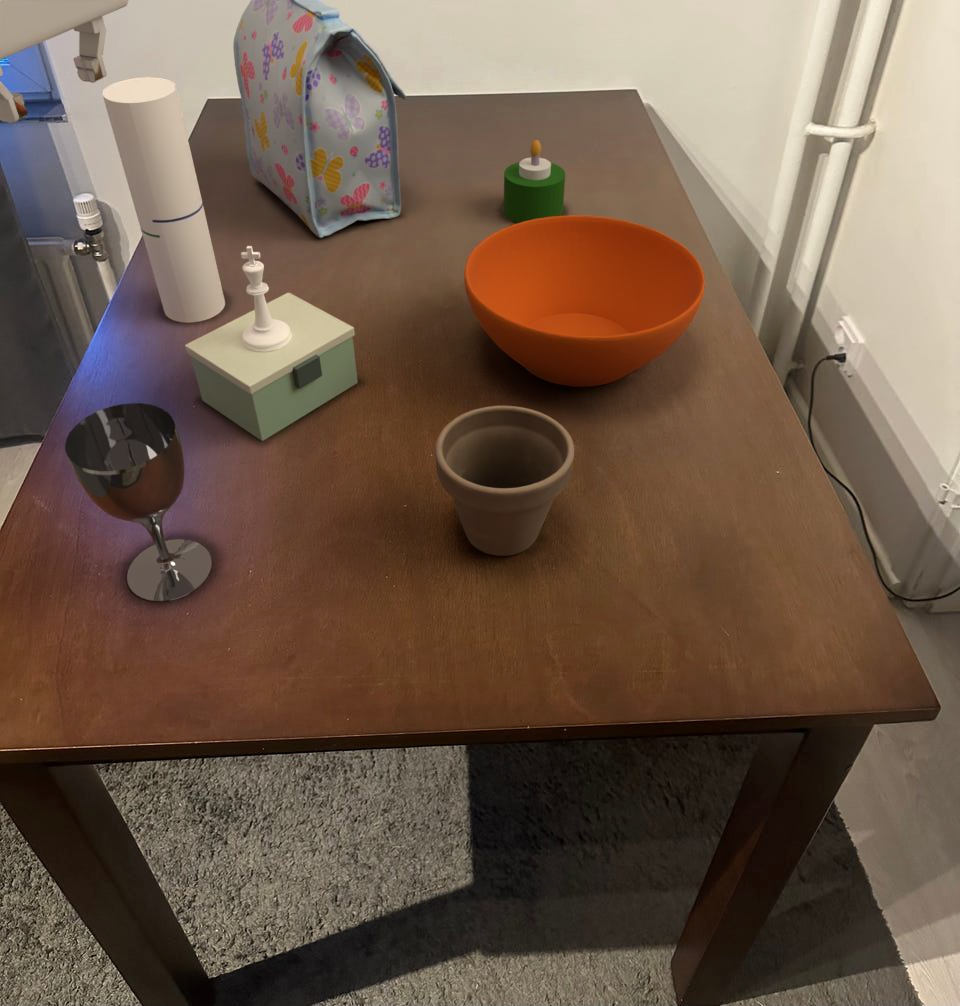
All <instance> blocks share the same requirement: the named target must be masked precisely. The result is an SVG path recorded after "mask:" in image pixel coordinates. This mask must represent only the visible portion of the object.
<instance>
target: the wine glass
mask: <svg viewBox="0 0 960 1006" xmlns="http://www.w3.org/2000/svg"><path fill="white" fill-rule="evenodd" d="M64 451H65V453H66V457H67V459H68V461H69V464H70V467H71V469H72V471H73V473H74V474H75V477H76V479H77V481H78V483H79V484H80V486H81V487H82V488H83V491H85V493H86V495H87V496H88V497H89V498H90V499H91V501H92V502H93V503H94V504H95V505H96V506H97V507H98V508H99V509H100V510H101V511H103V512H104V513H105V514H106V515H108V516H110V517H112V518H115V519H118V520H121V521H125V522H131V523H136V524H139V525H140V526H142V527H143V528H144V529H145V530H146V531H147V533H148V534H149V536H150V538H151V539H152V541H153V543H154V544H153V545H151V546H149V547H147V548H146V549H145V550H142V551H141V552H140V553H139V554H138V555H137V556H136V557H135V558H134V559H133V560H132V562H131V564H130V565H129V567H128V570H127V575H126V583H127V585H128V588H129V590H130V591H131V592H132V593H133V594H134V595H135V596H137V597H138V598H140V599H142V600H145V601H148V602H154V603H157V602H159V603H160V602H161V603H164V602H171V601H176V600H178V599H181V598H183V597H186V596H188V595H190V594H191V593H194V592H195V591H196V590H197V589H199V588H200V587H201V586H202V585H203V584H204V583H205V582H206V581H207V579H208V578H209V576H210V574H211V572H212V568H213V559H212V556H211V553H210V551H209V550H208V549H207V548H206V547H205V546H204V545H202V544H200V543H199V542H196V541H194V540H190V539H184V538H183V539H182V538H181V539H180V538H177V539H176V538H175V539H168V540H165V535H164V530H163V529H164V528H163V519H164V517H165V515H166V513H167V512H168V511H169V510H170V509H171V508H172V507H173V506H174V504H175V503H176V501H178V498H179V497H180V495H181V493H182V490H183V488H184V482H185V461H184V460H185V459H184V458H185V457H184V451H183V446H182V441H181V438H180V434H179V431H178V428H177V425H176V423H175V420H174V418H173V416H172V415H171V414H170V413H169V412H168V411H166V410H165V409H163V408H161V407H159V406H157V405H153V404H149V403H142V402H131V403H130V402H129V403H121V404H115V405H111V406H107V407H105V408H102V409H100V410H98V411H95V412H93V413H91V414H89V415H87V416H86V417H85V418H83V419H82V420H80V421H79V422H78V423H77V424H76V425H75V426H73V428H72V429H71V430H70V431H69V433H68V435H67V437H66V439H65V443H64Z"/></svg>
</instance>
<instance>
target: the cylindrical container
mask: <svg viewBox="0 0 960 1006" xmlns="http://www.w3.org/2000/svg"><path fill="white" fill-rule="evenodd" d="M101 94H102V98H103V102H104V106H105V108H106V112H107V116H108V119H109V123H110V126H111V129H112V133H113V137H114V141H115V144H116V147H117V150H118V155H119V158H120V162H121V165H122V168H123V171H124V176H125V178H126V182H127V186H128V190H129V192H130V197H131V200H132V204H133V208H134V211H135V213H136V217H137V221H138V224H139V227H140V231H141V235H142V239H143V241H144V245H145V249H146V252H147V256H148V259H149V263H150V266H151V270H152V273H153V277H154V280H155V285H156V288H157V291H158V295H159V298H160V302H161V306H162V309H163V312H164V315H165V316H166V317H167V318H168V319H170V320H172V321H175V322H177V323H178V322H179V323H184V324H185V323H186V324H187V323H188V324H189V323H200V322H204V321H206V320H210V319H212V318H213V317H216V316H217V315H219V314H220V313H221V312H222V311H223V310H224V308H225V306H226V301H225V295H224V292H223V286H222V282H221V279H220V273H219V269H218V265H217V261H216V256H215V253H214V248H213V243H212V239H211V234H210V230H209V225H208V222H207V221H208V220H207V216H206V211H205V207H204V203H203V199H202V195H201V191H200V186H199V181H198V178H197V172H196V168H195V165H194V160H193V156H192V155H193V154H192V151H191V147H190V143H189V138H188V134H187V133H188V132H187V129H186V126H185V125H186V124H185V121H184V116H183V112H182V111H183V110H182V107H181V103H180V98H179V94H178V88H177V85H176V83H175V82H173V81H172V80H170V79H167V78H162V77H156V76H155V77H154V76H144V77H143V76H142V77H134V78H133V77H132V78H127V79H123V80H120V81H116V82H114V83H112V84H110V85H108V86H106V87H105V88H104V89H103V90H102V93H101Z"/></svg>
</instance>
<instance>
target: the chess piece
mask: <svg viewBox="0 0 960 1006" xmlns="http://www.w3.org/2000/svg"><path fill="white" fill-rule="evenodd" d="M245 249H246V251H241V252H240V256H241V259H245V260H246V259H247V260H248V261H247V262H245V263H243V265H242V267H241V268H242V269H241V270H242V271H243V273H244V275H245V276H246V278H247V280H248V282H249V284H247V286H246V289H245V291H246V293H247V294H248V295H249V296H253V304H254V305H253V306H254V310H255V322H253V323H251V324H250V325H248V326H247V327H246V328H245V329H244V330H243V332H242V342H243V344H244V346H245V347H246V348H248V349H250V350H253V351H257V352H269V351H274V350H277V349H280V348H282V347H284V346H285V345H287V344H288V343H289V342H290V340H291V338H292V333H291V331H290V328H289V326H288V325H287V324H286V323H284V322H282V321H280V320H275V319H272V318H271V315H270V312H269V309H268V306H267V303H268V302H267V301H266V297H265V294H266V293H268V292H269V289H270V287H269V286H268V285H269V284H267V283H266V282H263V275H264V271H265V265H264V263H263V262H261V261H259V259H261V257H262V256H261V252H260V251H254V249H253V246H252V245H247V246H246V248H245ZM257 259H258V260H257Z"/></svg>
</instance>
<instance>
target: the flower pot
mask: <svg viewBox="0 0 960 1006" xmlns="http://www.w3.org/2000/svg"><path fill="white" fill-rule="evenodd" d="M434 448H435V449H434V456H435V468H436V475H437V478H438V481H439V482H440V485H441V487H442V488H443V489H444V490H445V492H446V493H447V494H448V495H449V496H451V497H452V498H453V502H454V505H455V508H456V512H457V514H458V518H459V520H460V523H461V525H462V528H463V531H464V533H465V536H466V538H467V539H468V541H469V543H470V544H471V545H472V546H473V547H474V548H476V549H477V550H478V551H481V552H483V553H484V554H488V555H490V556H495V557H508V556H513V555H518V554H521V553H523V552H525V551H526V550H528V549H529V548H530V547H531V546H533V544H534V543H535V541H536V540H537V538H538V536H539V535H540V533H541V530H542V528H543V525H544V524H545V522H546V519H547V516H548V515H549V514H548V513H549V511H550V509H551V507H552V505H553V501H554V499H555V498H556V497H558V496H559V495H560V494H562V493H563V491H564V490H565V489H566V488H567V485H568V484H569V482H570V480H571V476H572V472H573V464H574V460H575V453H576V451H575V444H574V440H573V438H572V436H571V435H570V433H569V431H568V430H567V429H566V428H565V427H564V426H563V425H562V424H561V423H559V422H558V421H557V420H556V419H553V418H552V417H551V416H549V415H546V414H544V413H542V412H540V411H537V410H534V409H531V408H526V407H522V406H514V405H492V406H486V407H485V406H484V407H479V408H476V409H472V410H469V411H467V412H465V413H462V414H460V415H459V416H457V417H455V418H453V419H452V420H451V421H450V422H448V424H446V425H445V426H444V427H443V429H442V430H441V431H440V433H439V435H438V437H437V439H436V442H435V447H434Z"/></svg>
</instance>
